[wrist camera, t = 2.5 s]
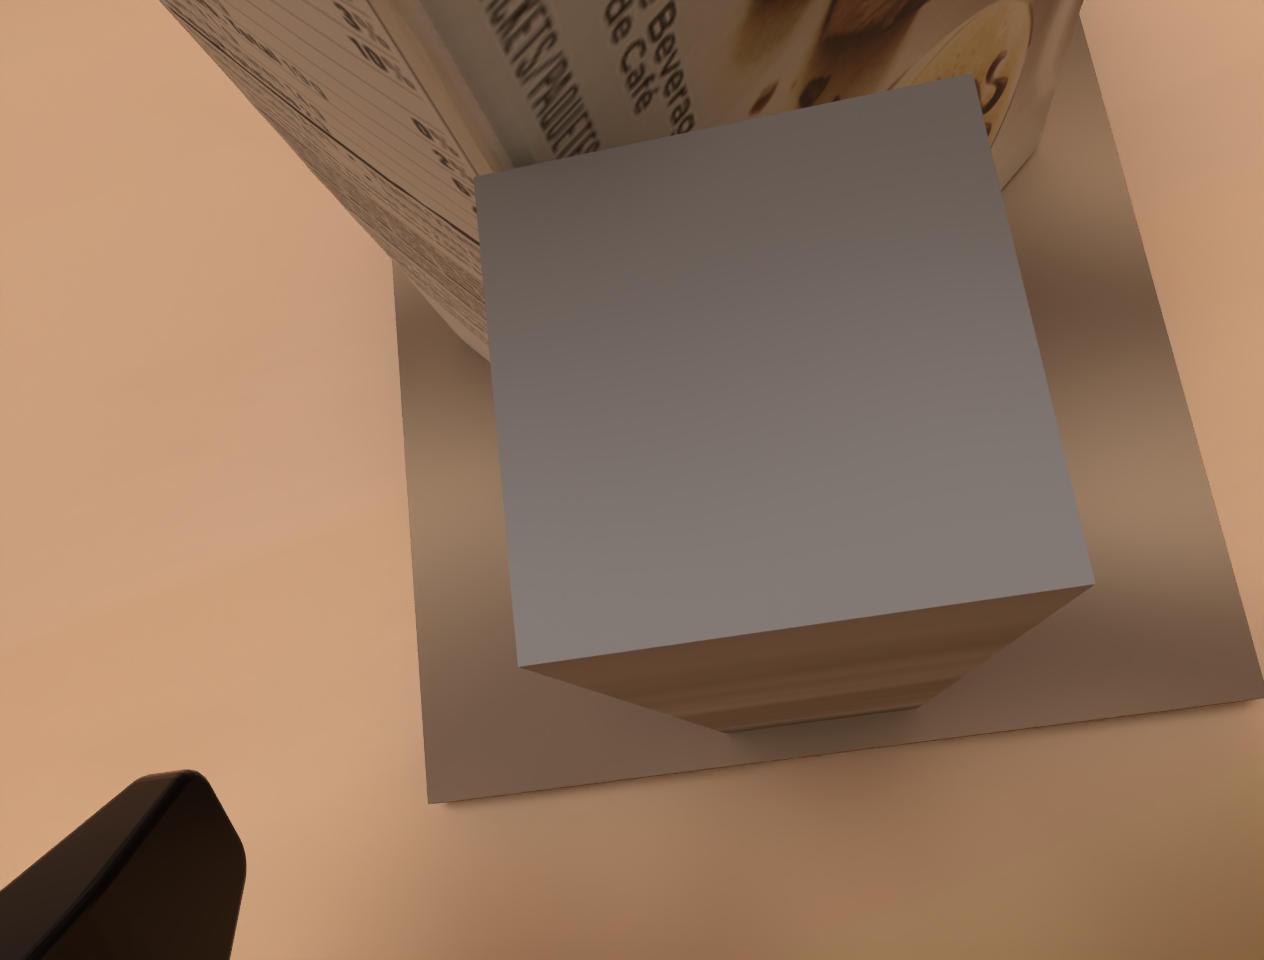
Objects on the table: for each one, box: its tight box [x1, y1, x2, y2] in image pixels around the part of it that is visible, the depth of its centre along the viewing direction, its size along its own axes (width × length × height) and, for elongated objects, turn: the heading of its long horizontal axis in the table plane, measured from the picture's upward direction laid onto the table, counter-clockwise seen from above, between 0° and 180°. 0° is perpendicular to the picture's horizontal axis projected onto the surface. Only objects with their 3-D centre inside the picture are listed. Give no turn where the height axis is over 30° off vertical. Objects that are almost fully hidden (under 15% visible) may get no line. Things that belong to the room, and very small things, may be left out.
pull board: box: [392, 15, 1264, 804], centre depth 14 cm, size 15×13×13 cm
